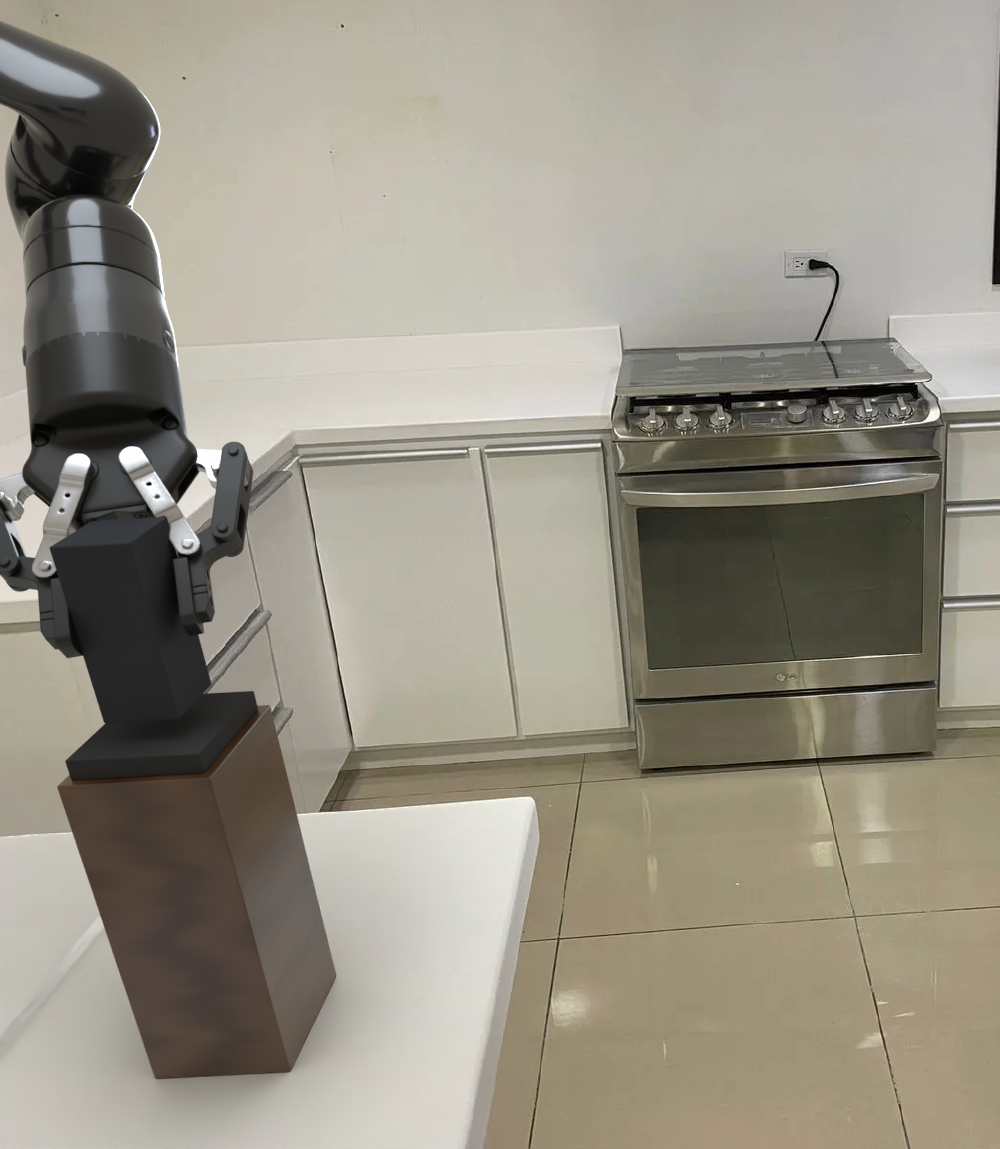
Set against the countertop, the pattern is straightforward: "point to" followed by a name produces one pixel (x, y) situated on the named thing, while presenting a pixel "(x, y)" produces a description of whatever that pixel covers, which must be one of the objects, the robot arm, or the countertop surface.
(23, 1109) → the countertop surface
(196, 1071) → the block
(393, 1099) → the countertop surface
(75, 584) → the foam block
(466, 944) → the countertop surface
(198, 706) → the rubber pad
